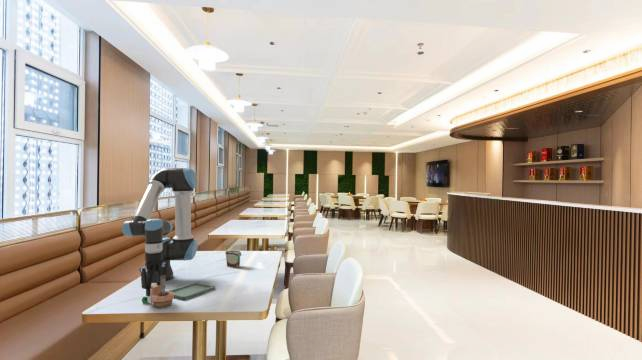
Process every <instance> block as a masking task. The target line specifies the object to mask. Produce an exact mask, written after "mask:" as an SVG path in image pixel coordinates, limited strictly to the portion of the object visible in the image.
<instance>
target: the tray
mask: <svg viewBox="0 0 642 360" xmlns="http://www.w3.org/2000/svg"><path fill="white" fill-rule="evenodd" d="M214 290H216V285H211V284H207V283H203V282H202V283H201V282H197V281H194V282H192V283H188V284H184V285H182V286H179V287H176V288H172V289H169V290H168V291H171V292H174V298H173V299H177V300H181V301H186V300H189V299H192V298H195V297H198V296H201V295H203V294H206V293H209V292H211V291H214Z"/></svg>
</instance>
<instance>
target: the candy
mask: <svg viewBox="0 0 642 360" xmlns="http://www.w3.org/2000/svg"><path fill="white" fill-rule="evenodd" d="M141 302H142V303H143V304H146V303H148V302H147V296H146V295H145V296H143V297H142V298H141Z"/></svg>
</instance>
